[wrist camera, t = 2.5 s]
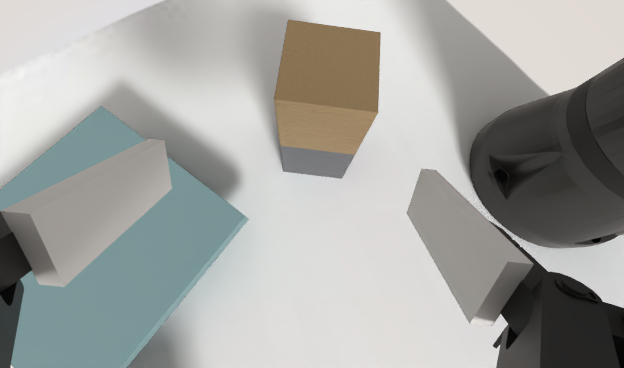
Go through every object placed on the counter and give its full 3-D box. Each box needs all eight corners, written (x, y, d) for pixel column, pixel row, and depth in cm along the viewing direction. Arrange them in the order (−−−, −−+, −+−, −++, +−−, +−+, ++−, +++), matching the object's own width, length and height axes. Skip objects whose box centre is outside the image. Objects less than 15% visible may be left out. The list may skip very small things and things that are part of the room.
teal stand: (254, 224, 24) (245, 216, 20) (120, 390, 20) (71, 426, 15) (133, 131, 26) (101, 105, 22) (-13, 263, 22) (-89, 263, 17)
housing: (345, 127, 28) (380, 32, 16) (341, 178, 26) (377, 112, 15) (291, 120, 28) (288, 19, 16) (283, 171, 26) (274, 99, 14)
